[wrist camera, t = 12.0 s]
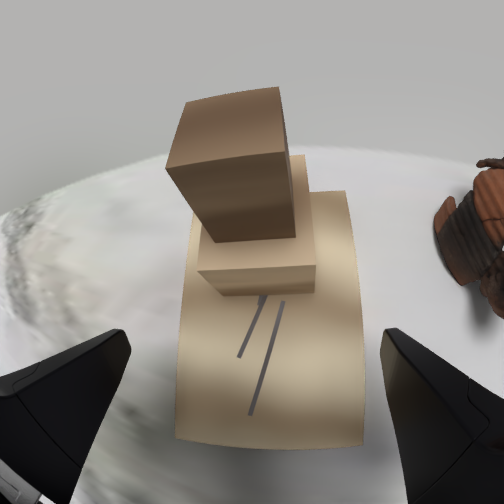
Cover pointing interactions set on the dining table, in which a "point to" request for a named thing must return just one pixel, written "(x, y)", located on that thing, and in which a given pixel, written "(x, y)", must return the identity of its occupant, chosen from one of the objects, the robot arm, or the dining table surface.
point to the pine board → (276, 352)
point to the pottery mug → (477, 234)
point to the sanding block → (245, 194)
